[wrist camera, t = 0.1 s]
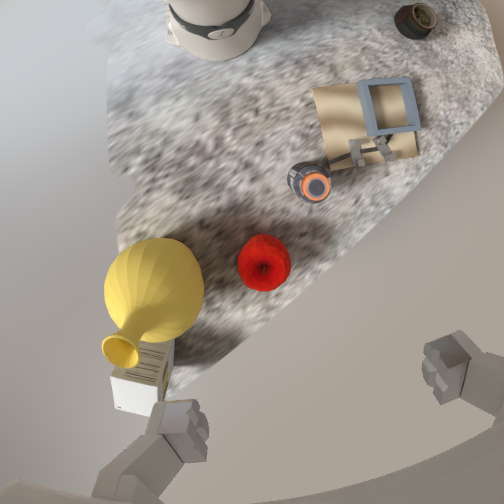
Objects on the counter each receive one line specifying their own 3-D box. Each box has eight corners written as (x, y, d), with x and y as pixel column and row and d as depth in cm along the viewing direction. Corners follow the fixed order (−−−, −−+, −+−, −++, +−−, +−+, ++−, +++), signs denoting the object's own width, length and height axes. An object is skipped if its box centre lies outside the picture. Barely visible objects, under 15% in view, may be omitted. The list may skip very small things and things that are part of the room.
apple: (247, 219, 57) (247, 236, 47) (292, 234, 58) (302, 254, 48) (232, 263, 60) (229, 288, 49) (275, 276, 61) (281, 303, 50)
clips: (347, 139, 51) (352, 139, 49) (388, 133, 51) (394, 133, 48) (352, 167, 53) (357, 168, 51) (392, 160, 52) (398, 161, 50)
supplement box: (174, 366, 68) (159, 420, 52) (136, 359, 67) (114, 410, 51) (175, 333, 65) (158, 387, 49) (134, 326, 64) (108, 375, 48)
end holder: (355, 83, 48) (361, 80, 45) (402, 79, 47) (410, 77, 44) (367, 136, 51) (373, 136, 48) (413, 130, 50) (421, 130, 48)
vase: (209, 222, 57) (179, 294, 31) (212, 302, 62) (194, 406, 36) (126, 224, 57) (47, 288, 30) (136, 300, 62) (81, 392, 36)
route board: (311, 89, 49) (312, 88, 48) (400, 80, 48) (403, 79, 47) (329, 170, 54) (331, 171, 53) (415, 155, 53) (418, 156, 52)
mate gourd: (426, 27, 44) (452, 15, 34) (412, 50, 46) (439, 39, 36) (399, 5, 42) (422, -12, 33) (384, 27, 44) (406, 11, 35)
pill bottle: (323, 166, 54) (341, 172, 43) (315, 198, 56) (332, 211, 45) (290, 158, 53) (301, 162, 43) (283, 191, 55) (292, 203, 45)
